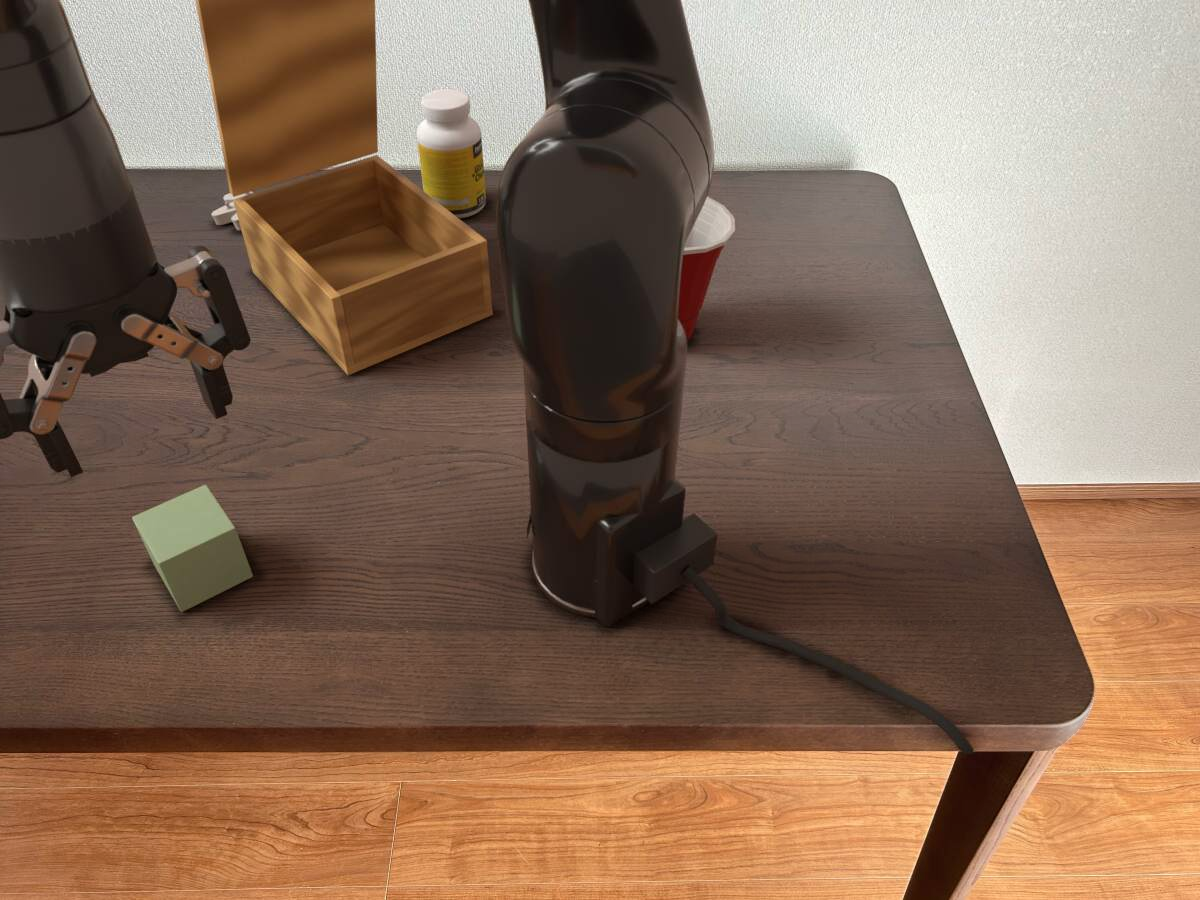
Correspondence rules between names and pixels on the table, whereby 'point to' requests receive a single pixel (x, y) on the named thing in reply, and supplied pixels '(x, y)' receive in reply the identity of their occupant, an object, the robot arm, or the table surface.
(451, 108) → the pill bottle
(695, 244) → the plastic cup
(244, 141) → the lid
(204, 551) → the block
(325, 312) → the chest
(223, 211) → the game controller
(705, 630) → the table surface
